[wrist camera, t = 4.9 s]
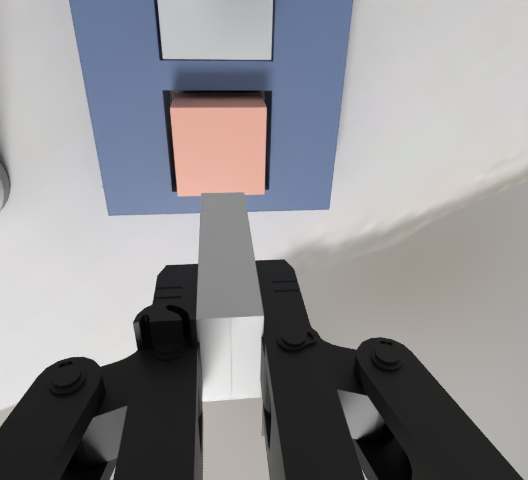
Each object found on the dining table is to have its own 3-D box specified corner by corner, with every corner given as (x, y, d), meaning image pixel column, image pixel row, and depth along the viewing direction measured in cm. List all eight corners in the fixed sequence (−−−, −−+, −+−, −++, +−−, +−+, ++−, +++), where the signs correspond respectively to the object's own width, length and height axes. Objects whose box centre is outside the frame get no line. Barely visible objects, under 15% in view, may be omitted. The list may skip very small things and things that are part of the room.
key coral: (174, 92, 25) (169, 107, 22) (260, 92, 25) (266, 107, 22) (181, 173, 27) (177, 196, 24) (258, 171, 28) (264, 194, 25)
